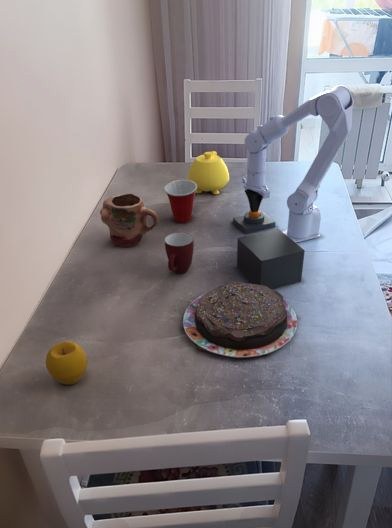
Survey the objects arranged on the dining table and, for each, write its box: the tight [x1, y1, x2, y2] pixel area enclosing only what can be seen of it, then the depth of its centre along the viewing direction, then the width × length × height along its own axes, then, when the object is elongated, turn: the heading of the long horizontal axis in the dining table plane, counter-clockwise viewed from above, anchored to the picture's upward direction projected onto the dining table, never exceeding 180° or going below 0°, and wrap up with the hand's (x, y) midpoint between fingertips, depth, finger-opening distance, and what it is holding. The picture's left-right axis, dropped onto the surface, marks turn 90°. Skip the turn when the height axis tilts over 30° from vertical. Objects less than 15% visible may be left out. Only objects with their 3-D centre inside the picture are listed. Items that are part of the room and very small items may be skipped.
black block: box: [236, 228, 306, 290], centre depth 132 cm, size 14×13×10 cm
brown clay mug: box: [99, 193, 159, 248], centre depth 149 cm, size 20×12×14 cm, turn 73°
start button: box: [248, 209, 261, 218], centre depth 157 cm, size 4×4×2 cm
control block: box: [232, 210, 277, 234], centre depth 159 cm, size 11×9×4 cm
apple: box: [45, 340, 88, 386], centre depth 102 cm, size 9×8×9 cm
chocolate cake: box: [182, 281, 298, 359], centre depth 116 cm, size 28×28×7 cm
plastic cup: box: [163, 179, 197, 224], centre depth 161 cm, size 11×11×12 cm
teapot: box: [187, 150, 230, 195], centre depth 182 cm, size 20×16×14 cm
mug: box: [164, 232, 195, 274], centre depth 135 cm, size 10×8×10 cm
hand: (254, 211), depth 157 cm, fingers closed
